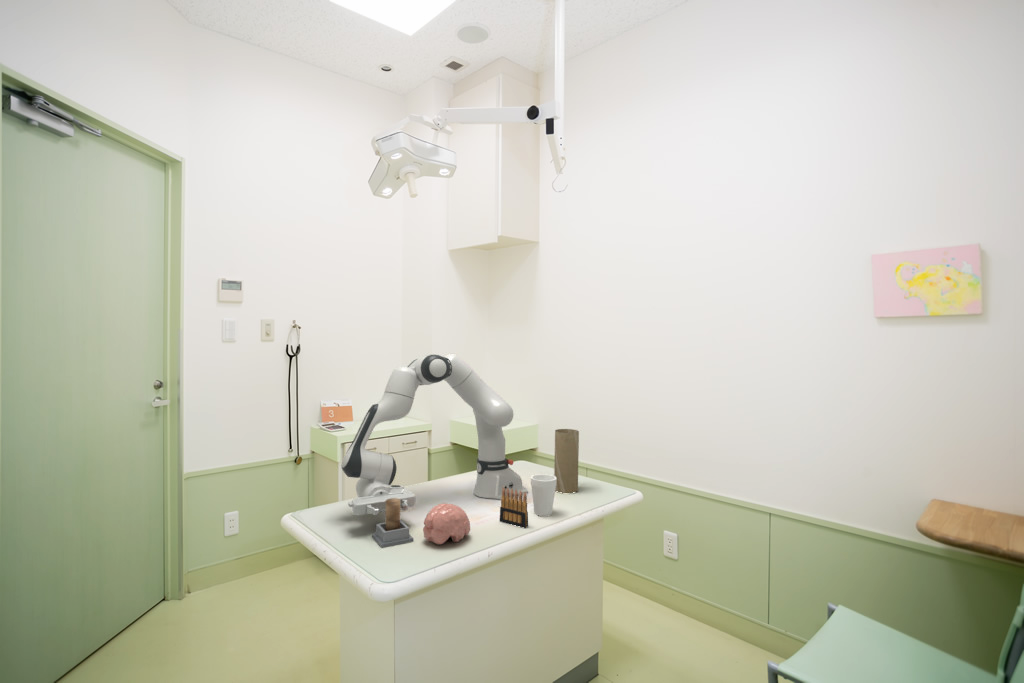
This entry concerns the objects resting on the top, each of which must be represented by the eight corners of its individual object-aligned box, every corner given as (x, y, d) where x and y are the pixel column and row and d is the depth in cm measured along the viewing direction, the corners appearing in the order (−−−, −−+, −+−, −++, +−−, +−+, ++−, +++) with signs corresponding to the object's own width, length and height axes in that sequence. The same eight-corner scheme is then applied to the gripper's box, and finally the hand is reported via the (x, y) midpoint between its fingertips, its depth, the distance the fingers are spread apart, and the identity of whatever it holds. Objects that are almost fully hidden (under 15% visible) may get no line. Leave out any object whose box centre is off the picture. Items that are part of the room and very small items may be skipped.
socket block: (402, 530, 163) (402, 518, 163) (413, 541, 155) (413, 528, 155) (371, 536, 158) (372, 523, 158) (381, 547, 150) (381, 534, 150)
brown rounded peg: (397, 531, 160) (397, 497, 160) (402, 536, 156) (402, 501, 156) (382, 534, 157) (383, 499, 157) (387, 539, 153) (388, 503, 153)
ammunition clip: (499, 521, 173) (499, 486, 174) (502, 520, 175) (503, 485, 175) (525, 528, 167) (525, 492, 167) (528, 526, 169) (528, 491, 169)
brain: (446, 543, 165) (458, 505, 168) (473, 554, 156) (484, 514, 160) (409, 535, 154) (423, 495, 158) (436, 546, 145) (449, 504, 149)
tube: (574, 486, 217) (575, 428, 217) (580, 493, 207) (581, 433, 207) (551, 487, 216) (552, 428, 216) (556, 494, 206) (558, 433, 206)
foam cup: (524, 513, 182) (525, 477, 182) (541, 507, 189) (541, 472, 189) (545, 519, 176) (545, 482, 176) (561, 513, 183) (561, 477, 183)
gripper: (346, 492, 165) (357, 504, 153) (406, 484, 175) (421, 495, 163) (346, 512, 165) (357, 525, 153) (406, 502, 175) (421, 514, 163)
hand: (391, 509), depth 158 cm, fingers open, 8 cm apart
